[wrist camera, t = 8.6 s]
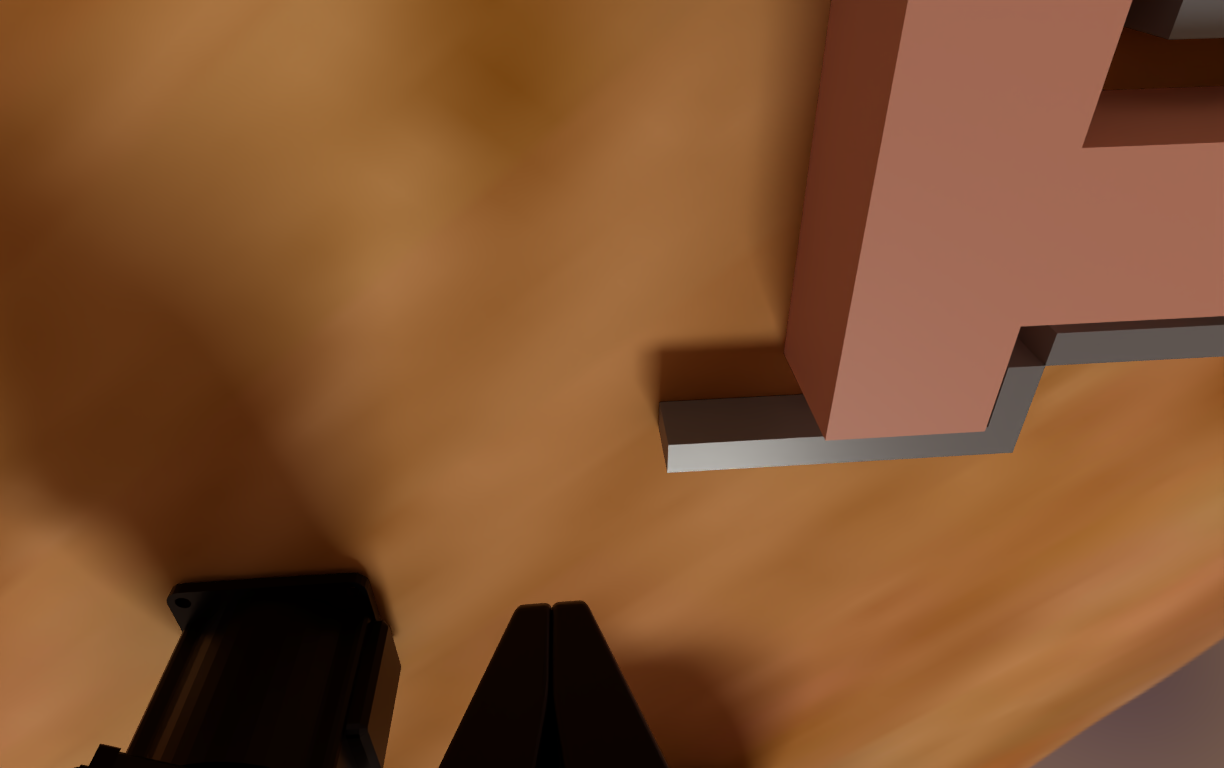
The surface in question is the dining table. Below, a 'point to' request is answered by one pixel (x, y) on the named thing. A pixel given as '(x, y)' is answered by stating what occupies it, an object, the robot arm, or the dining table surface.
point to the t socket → (790, 435)
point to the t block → (987, 204)
